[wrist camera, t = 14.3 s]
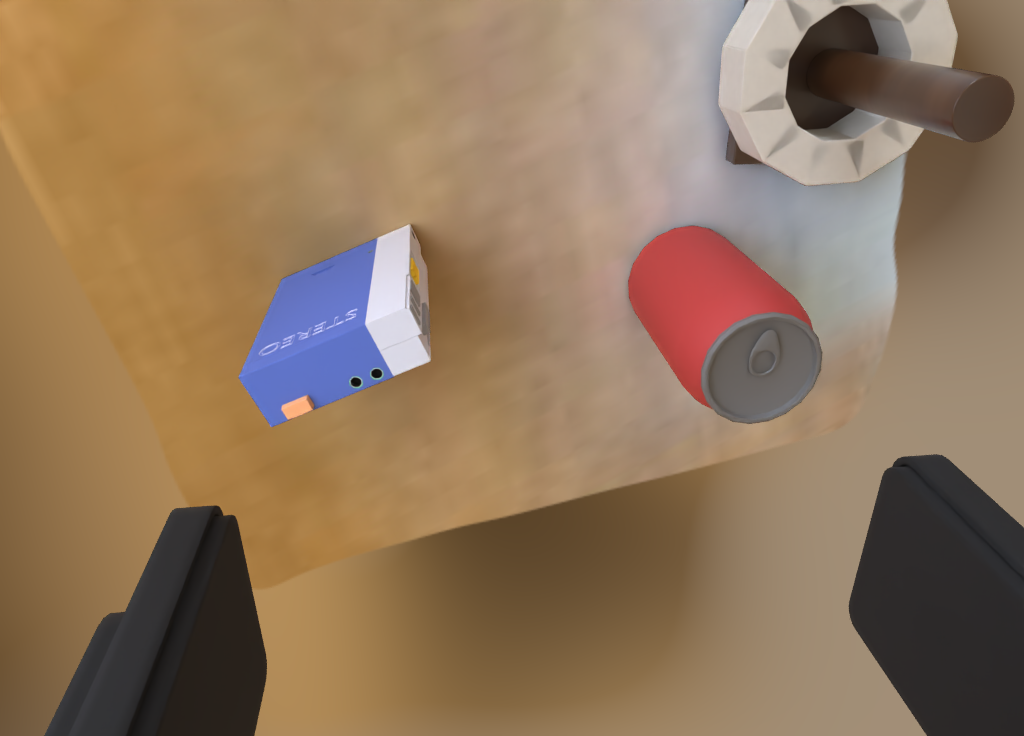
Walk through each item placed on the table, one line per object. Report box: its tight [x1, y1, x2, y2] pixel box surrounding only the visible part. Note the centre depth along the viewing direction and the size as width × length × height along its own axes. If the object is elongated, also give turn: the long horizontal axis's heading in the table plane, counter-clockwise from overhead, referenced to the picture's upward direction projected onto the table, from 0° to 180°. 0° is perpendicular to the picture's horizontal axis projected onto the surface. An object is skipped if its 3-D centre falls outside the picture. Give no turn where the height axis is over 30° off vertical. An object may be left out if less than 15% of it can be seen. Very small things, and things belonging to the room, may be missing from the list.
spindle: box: [726, 0, 1014, 164], centre depth 34 cm, size 9×9×13 cm
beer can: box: [628, 226, 822, 424], centre depth 39 cm, size 7×7×12 cm
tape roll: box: [718, 0, 958, 186], centre depth 37 cm, size 10×10×3 cm
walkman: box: [239, 224, 431, 427], centre depth 37 cm, size 8×3×12 cm, turn 112°
